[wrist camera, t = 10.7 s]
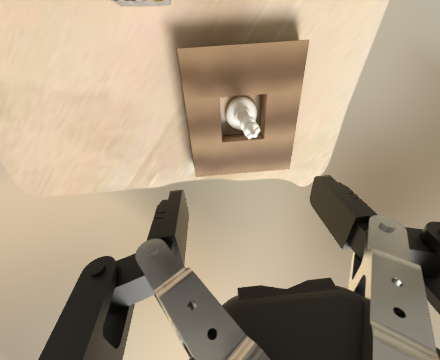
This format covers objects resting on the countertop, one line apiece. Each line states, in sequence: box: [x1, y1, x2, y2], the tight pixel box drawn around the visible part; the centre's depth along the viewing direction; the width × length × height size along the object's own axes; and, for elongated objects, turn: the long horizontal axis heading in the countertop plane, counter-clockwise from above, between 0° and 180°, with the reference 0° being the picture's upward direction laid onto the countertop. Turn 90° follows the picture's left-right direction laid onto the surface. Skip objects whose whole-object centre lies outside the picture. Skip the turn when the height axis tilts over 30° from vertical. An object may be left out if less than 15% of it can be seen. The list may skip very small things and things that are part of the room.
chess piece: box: [226, 97, 261, 139], centre depth 27 cm, size 5×5×10 cm
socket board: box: [177, 40, 309, 177], centre depth 30 cm, size 18×16×3 cm
